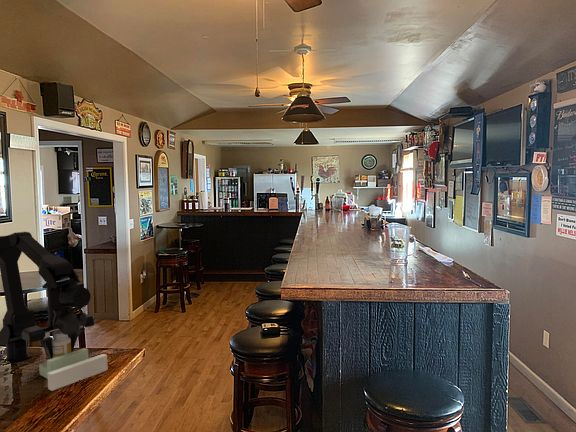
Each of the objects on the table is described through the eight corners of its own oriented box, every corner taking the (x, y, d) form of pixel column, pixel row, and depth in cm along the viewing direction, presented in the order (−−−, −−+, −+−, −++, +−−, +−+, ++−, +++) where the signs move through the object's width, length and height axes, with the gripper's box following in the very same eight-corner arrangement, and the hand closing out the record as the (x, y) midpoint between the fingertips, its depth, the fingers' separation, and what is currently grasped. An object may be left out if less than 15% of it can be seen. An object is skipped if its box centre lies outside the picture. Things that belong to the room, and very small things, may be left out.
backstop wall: (48, 388, 115) (47, 372, 114) (103, 368, 128) (103, 353, 127) (51, 391, 114) (50, 374, 113) (107, 370, 126) (107, 355, 126)
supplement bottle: (66, 358, 130) (64, 327, 130) (75, 362, 127) (73, 330, 126) (47, 364, 126) (46, 332, 125) (56, 368, 123) (55, 336, 122)
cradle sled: (39, 374, 123) (38, 356, 123) (77, 361, 132) (76, 344, 132) (50, 380, 119) (49, 361, 119) (88, 367, 128) (88, 349, 128)
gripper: (37, 316, 113) (40, 373, 114) (103, 300, 128) (105, 351, 129) (19, 309, 120) (22, 363, 121) (84, 295, 135) (86, 343, 136)
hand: (61, 355), depth 126 cm, fingers closed on supplement bottle, 5 cm apart
